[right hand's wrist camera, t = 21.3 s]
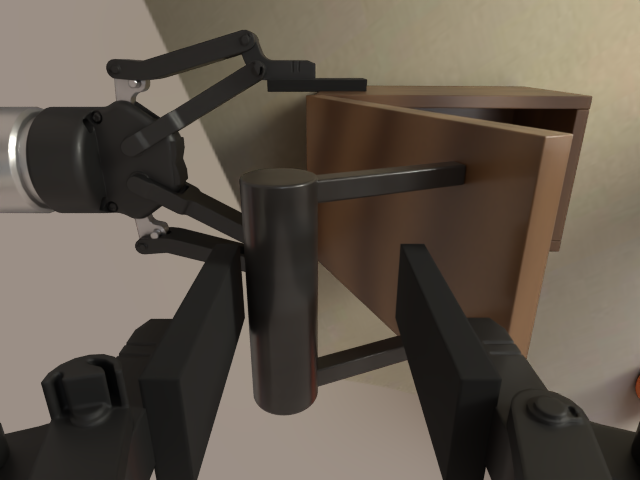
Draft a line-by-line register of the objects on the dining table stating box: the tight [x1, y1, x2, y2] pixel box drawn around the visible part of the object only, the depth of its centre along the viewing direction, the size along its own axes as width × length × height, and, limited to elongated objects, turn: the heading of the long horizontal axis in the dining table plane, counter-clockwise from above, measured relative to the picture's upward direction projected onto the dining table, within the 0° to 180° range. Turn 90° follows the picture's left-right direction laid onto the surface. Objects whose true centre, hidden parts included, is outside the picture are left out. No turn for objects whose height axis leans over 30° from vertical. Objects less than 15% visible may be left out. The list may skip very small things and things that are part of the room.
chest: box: [316, 86, 592, 251], centre depth 33 cm, size 16×10×11 cm, turn 90°
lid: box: [240, 95, 573, 415], centre depth 19 cm, size 17×10×8 cm
